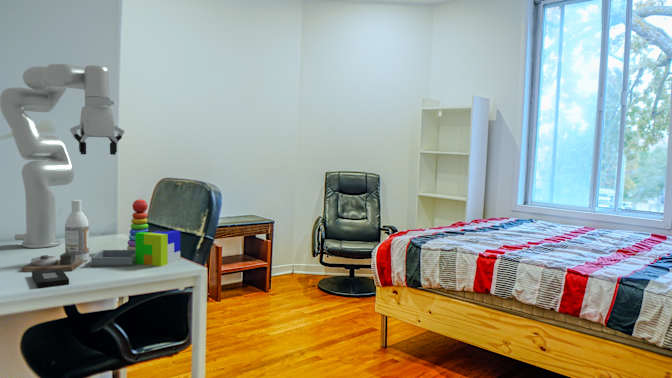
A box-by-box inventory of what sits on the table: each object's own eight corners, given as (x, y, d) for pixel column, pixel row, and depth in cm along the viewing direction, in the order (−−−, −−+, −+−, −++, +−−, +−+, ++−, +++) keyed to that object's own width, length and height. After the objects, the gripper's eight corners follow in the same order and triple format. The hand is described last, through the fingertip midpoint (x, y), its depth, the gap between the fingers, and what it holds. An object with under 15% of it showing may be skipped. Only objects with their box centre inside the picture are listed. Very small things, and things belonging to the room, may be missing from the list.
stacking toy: (142, 253, 180) (142, 201, 179) (122, 251, 182) (122, 200, 180) (154, 249, 188) (154, 199, 186) (135, 247, 189) (135, 198, 188)
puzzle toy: (180, 260, 171) (180, 231, 170) (160, 266, 161) (160, 235, 161) (155, 257, 174) (155, 228, 173) (135, 263, 165) (135, 233, 164)
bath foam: (87, 262, 164) (87, 201, 163) (63, 263, 162) (62, 201, 160) (90, 257, 171) (89, 199, 169) (67, 258, 168) (66, 199, 167)
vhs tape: (61, 275, 150) (61, 268, 149) (69, 286, 138) (69, 279, 138) (32, 278, 145) (31, 271, 145) (37, 290, 134) (37, 282, 134)
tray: (91, 266, 158) (91, 257, 158) (102, 258, 170) (102, 250, 170) (132, 266, 161) (132, 257, 160) (140, 257, 173) (140, 249, 172)
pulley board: (21, 271, 150) (21, 251, 150) (35, 264, 160) (35, 244, 159) (72, 271, 152) (71, 250, 152) (82, 263, 162) (82, 244, 162)
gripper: (118, 106, 178) (119, 154, 179) (65, 102, 166) (67, 154, 167) (127, 104, 173) (128, 154, 174) (73, 100, 161) (75, 154, 162)
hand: (98, 154), depth 171 cm, fingers open, 9 cm apart
